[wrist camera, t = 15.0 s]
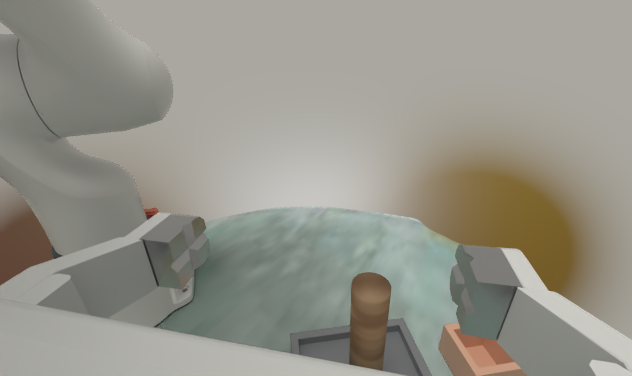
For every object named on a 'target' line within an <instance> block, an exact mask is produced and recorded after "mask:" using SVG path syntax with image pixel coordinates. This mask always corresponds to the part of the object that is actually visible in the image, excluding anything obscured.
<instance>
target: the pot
mask: <svg viewBox="0 0 632 376" xmlns="http://www.w3.org/2000/svg"><path fill="white" fill-rule="evenodd" d="M438 349H439V350H440V352H441V354H442V356H443V357H444V359H445V361H446V363H447V364H448V366H449V368H450V370H451V372H452V373H453V375H454V376H527V375H526V374H525V372H524V371H523V370H522V369H521V368H520V367H519V366H518V365H517V364H516V363H515V361H514V360H513V359H512V358H511V357H510V356H509V355H508V354H507V353H506V352H505V350H504V349H503V348H502V347H501V346H500V345H499V344H498V343H497V340H492V339H486V338H481V337H476V336H470V335H465V334H462V333H461V329H460V326H459V323H455V324H448V325H444V327H443V331H442V336H441V340H440V344H439V348H438Z"/></svg>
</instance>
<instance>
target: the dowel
mask: <svg viewBox="0 0 632 376" xmlns="http://www.w3.org/2000/svg"><path fill="white" fill-rule="evenodd" d="M390 295H391V285H390V283H389V281H388V280H387V279H386V278H385V277H383V276H381V275H379V274H376V273H370V272H367V273H361V274H359V275H357V276H356V277H355V278H354V279H353V281H352V286H351V319H350V351H349V365H354V366H360V367H365V368H370V369H375V370H380V371H382V370H383V360H384V351H385V342H386V332H387V323H388V314H389V304H390Z"/></svg>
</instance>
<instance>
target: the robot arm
mask: <svg viewBox="0 0 632 376" xmlns="http://www.w3.org/2000/svg"><path fill="white" fill-rule="evenodd" d="M0 22H1V23H2V24H4V25H5V26H6V27H7V28H9V29H10V30H11V31H12V32H13V33H14V34H9V35H8V34H7V35H6V34H4V35H3V34H1V35H0V177H1V178H2V179H4V180H5V181H6V182H7V183H9V184H10V185H11V186H12V187H13V188H15V189H16V190H17V191H18V192H19V193H20V194H21V195H22V196H23V198H24V199H25V200H26V201H27V203H28V204H29V206H30V207H31V209H32V210H33V212H34V213H35V215H36V216H37V218H38V220H39V222H40V223H41V225H42V227H43V228H44V230H45V232H46V234H47V236H48V238H49V240H50V242H51V244H52V248H51V253H52V255H53V258H54V259H53V260H50V261H47V262H45V263H42V264H38V265H35V266H32V267H30V268H28V269H26V270H25V271H23V272H22V273H20V274H19V275H17V276H15V277H14V278H12V279H10V280H9V281H7V282H6V283H4V284H3V285H1V286H0V376H407V375H401V374H396V373H391V372H386V371H380V370H375V369H370V368H365V367H360V366H354V365H349V364H344V363H339V362H333V361H328V360H323V359H318V358H312V357H307V356H302V355H297V354H291V353H286V352H281V351H276V350H270V349H265V348H260V347H255V346H249V345H244V344H239V343H234V342H228V341H223V340H218V339H212V338H207V337H202V336H197V335H191V334H186V333H181V332H176V331H170V330H165V329H160V328H155V327H154V326H156V325H157V324H158V323H160V322H161V321H162V320H163V319H164V318H166V317H167V316H168V315H169V314H170V313H171V312H173V311H174V310H176V309H178V308H180V307H182V306H184V305H186V304H187V303H189V302H190V301H191V300H192V299H193V295H194V272H195V269H196V268H198V267H200V266H202V265H203V263H204V262H205V261H206V259H207V257H208V254H209V246H210V245H209V239H208V238H207V237H206V236H205V234H204V233H203V232H204V231H205V229H206V226H205V222H204V219H202V218H201V217H197V216H189V215H181V214H173V213H164V212H162V213H158V209H156V208H152V209H144V208H143V205H142V201H141V198H140V195H139V192H138V189H137V185H136V182H135V179H134V178H133V176H132V175H131V174H130V173H129V172H128V171H127V170H126V169H124V168H123V167H121V166H120V165H118V164H116V163H113V162H110V161H107V160H103V159H99V158H94V157H91V156H88V155H86V154H84V153H82V152H80V151H79V150H77V149H76V148H75V147H74V146H72V145H71V144H70V143H69V141H68V140H67V139H66V137H69V136H79V135H88V134H98V133H108V132H117V131H126V130H130V129H133V128H137V127H140V126H144V125H147V124H151V123H153V122H157V121H160V120H162V119H163V118H164V117H165V116H166V114H167V112H168V111H169V109H170V106H171V103H172V99H173V84H172V80H171V76H170V73H169V71H168V69H167V67H166V65H165V64H164V62H163V60H162V59H161V58H160V57H159V55H158V54H157V53H156V52H155V51H154V50H153V49H152V48H150V47H149V46H148V45H147V44H145V43H144V42H143V41H141V40H139V39H137V38H135V37H134V36H132V35H130V34H129V33H127V32H126V31H124V30H123V29H121V28H120V27H119V26H117V25H116V24H115V23H114V22H112V21H111V20H110V19H109V18H108V17H107V16H105V15H104V14H103V13H102V12H101V11H100V10H99V9H98V8H97V7H96V6H95V5H94V4H93V3H92V2H91V1H90V0H0ZM455 257H456V260H457V263H458V264H457V265H456V266H454V267H453V268H452V271H451V276H450V291H451V296H452V300H453V302H455V303H456V304H457V305H458V308H457V312H456V315H457V319H458V322H459V326H460V329H461V333H462V334H465V335H470V336H476V337H481V338H486V339H492V340H497V343H498V344H499V345H500V346H501V347H502V348H503V349H504V350H505V352H506V353H507V354H508V355H509V356H510V357H511V358H512V359H513V360H514V361H515V363H516V364H517V365H518V366H519V367H520V368H521V369H522V370H523V371H524V372H525V374H526V375H527V376H632V340H631V339H629V338H627V337H626V336H624V335H623V334H621V333H620V332H618V331H616V330H615V329H613V328H611V327H610V326H608V325H607V324H605V323H604V322H602V321H601V320H599V319H597V318H596V317H594V316H593V315H591V314H589V313H588V312H586V311H584V310H583V309H581V308H580V307H578V306H577V305H575V304H574V303H572V302H570V301H569V300H567V299H566V298H564V297H562V296H561V295H559V294H558V293H556V292H551V291H548V289H547V288H546V287H545V285H544V284H543V282H542V281H541V279H540V278H539V276H538V275H537V273H536V272H535V270H534V269H533V267H532V266H531V265H530V263H529V262H528V260H527V259H526V257H525V256H524V254H523V253H522V252H521V251H520V250H518V249H511V248H494V247H482V246H471V245H460V244H459V246H458V248H457V250H456V254H455Z"/></svg>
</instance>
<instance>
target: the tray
mask: <svg viewBox="0 0 632 376" xmlns="http://www.w3.org/2000/svg"><path fill="white" fill-rule="evenodd" d="M290 338H291V352H292V354H297V355H302V356H307V357H312V358H318V359H323V360H328V361H333V362H339V363H344V364H349V351H350V325H349V326H342V327H335V328H328V329H320V330H313V331H306V332H299V333H291V334H290ZM382 371H386V372H391V373H396V374H401V375H407V376H432V375H431V373H430V371H429V369H428V367H427V365H426V363H425V361H424V359H423V357H422V355H421V353H420V351H419V349H418V347H417V345H416V343H415V341H414V339H413V337H412V335H411V333H410V331H409V329H408V327H407V325H406V323H405V321H404V319H403V318H400V319H393V320H388V323H387V332H386V342H385V351H384V360H383V370H382Z"/></svg>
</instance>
